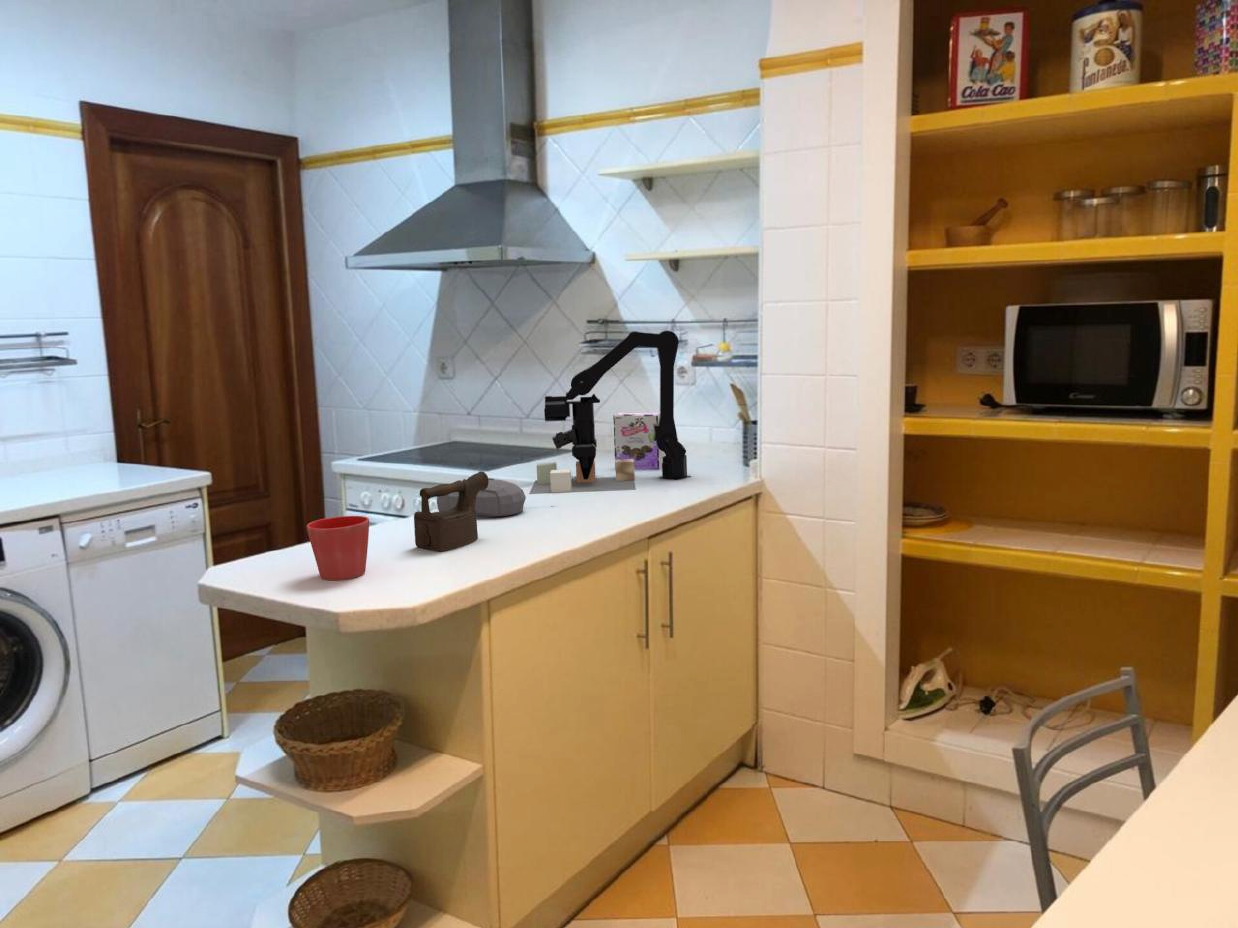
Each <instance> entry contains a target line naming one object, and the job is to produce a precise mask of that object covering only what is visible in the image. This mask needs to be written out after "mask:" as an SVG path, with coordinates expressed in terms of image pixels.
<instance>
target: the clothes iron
mask: <svg viewBox="0 0 1238 928" xmlns="http://www.w3.org/2000/svg"><path fill="white" fill-rule="evenodd" d="M488 476H489V475H488V474H487V473H486V472H485V471H481V470H480V471H478V472H476V473H474V474H472V475H471V476H469V477H468V478H467V479H466V481H465V482H464V481H463V480H456V481H454V482H451V483H441V484H438V485H435V486H432V487H423V488H421V489H420V490H419V496H420V497H421V499H420V500H421V502H420V503H421V504H420V507H421V508H420V509H421V511H415V513H414V514H413V526H414V527H413V528H414V542H415V547H417V548H421V549H425V550H432V551H436V552H440V553H441V552H447V551H452V550H454V549H459V548H462V547H466V546H468V545H470V544H473V543H474V542H476V541H477V540H478V537H479V534H478V533H479V532H478V522H477V520H478V518H476V511H475V502H476V496H477V494H478V492H479V491H480V490H485V489H486V488H487V487H488V483H489V480H488V478H489V477H488ZM453 492H459V497H458V501H457V504H456V506H455V507H454V508H453V509H450V510H445V511H439V510H438V511H434V512H433V511H431V510H430V504H429V499H432V498H437V497H439V496H445V495H448V494H450V493H453Z"/></svg>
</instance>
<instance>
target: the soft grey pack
mask: <svg viewBox="0 0 1238 928" xmlns="http://www.w3.org/2000/svg"><path fill="white" fill-rule="evenodd" d="M466 480H467V479H465V478H463V479H462V481H464V482H465V481H466ZM488 480H489V483H488V487H487V488H486V489H485V490H480V491H479V492H478V494H477V496H476V502H475V511H476V517H488V518H494V517H495V518H496V517H507V516H511V515H515V514H519V513H521V512H522V511H524V504H525V501H526V500H527V496H526V494H525V491H524V490H523V489H522V488H521V487H519V486H518V484H515V483H512V482H510V481H506V480H503V479H496V478H491V477H490V478H489V477H488ZM458 497H459V492H453V493H450V494H448V495H445V496H439V497H436V505H437V510H438V512H439V511H445V510H450V509H453V508H454V507H455V506H456V504H457V501H458Z"/></svg>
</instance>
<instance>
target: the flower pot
mask: <svg viewBox="0 0 1238 928" xmlns="http://www.w3.org/2000/svg"><path fill="white" fill-rule="evenodd" d="M306 530H307V534H308V539H309V542H310V545H311V549H312V552H313V556H314V559H315V560H314V561H315V563H316V567H317V570H318V572H319V577H320V578H321V579H322V580H326V581H342V580H349V579H354V578H355V577H360V576H362V575H364V574H365V573H366V569H367V568H366V567H367V558H368V548H369V533H370V518H369V517H367V516H364V515H363V516H362V515H345V516H334V517H327V518H321V519H320V518H319V519H317V520H313V521H312V522H309V523H308V524H306Z"/></svg>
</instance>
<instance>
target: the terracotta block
mask: <svg viewBox="0 0 1238 928" xmlns="http://www.w3.org/2000/svg"><path fill="white" fill-rule="evenodd" d="M575 473H576V474H575V477H576V478H575V479H576V480H577V483H579V482H595V480H596V478H597V477H596V461H595V460H594V462H593V465H592V468H591V471H590V474H589V477H588V479H584V478H583V474H582V470H581V466H580V463H579V460H577V461H576V462H575Z"/></svg>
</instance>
